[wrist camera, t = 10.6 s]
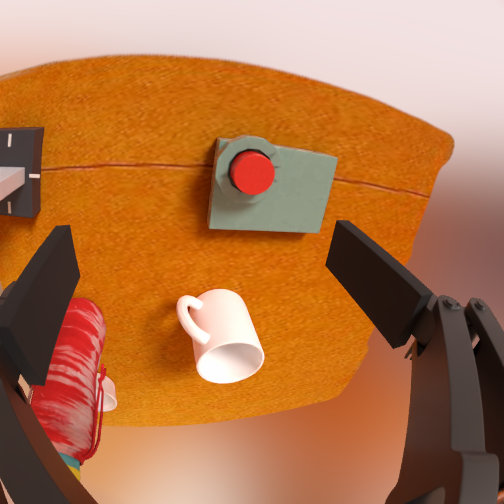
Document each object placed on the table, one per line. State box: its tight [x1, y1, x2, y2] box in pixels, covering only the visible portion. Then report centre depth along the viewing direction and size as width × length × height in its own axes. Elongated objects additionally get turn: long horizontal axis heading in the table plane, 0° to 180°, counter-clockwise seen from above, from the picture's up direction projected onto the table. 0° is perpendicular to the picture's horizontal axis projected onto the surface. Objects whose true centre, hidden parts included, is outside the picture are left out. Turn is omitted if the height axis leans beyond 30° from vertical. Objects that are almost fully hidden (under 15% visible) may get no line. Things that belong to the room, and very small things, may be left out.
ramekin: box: [96, 373, 117, 412], centre depth 40 cm, size 9×9×4 cm
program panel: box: [0, 127, 44, 218], centre depth 21 cm, size 10×9×3 cm
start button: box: [230, 151, 275, 195], centre depth 27 cm, size 4×4×2 cm
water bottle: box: [28, 298, 106, 481], centre depth 23 cm, size 12×8×25 cm, turn 69°
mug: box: [176, 289, 264, 383], centre depth 35 cm, size 12×8×10 cm
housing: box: [207, 135, 338, 233], centre depth 31 cm, size 14×11×4 cm
